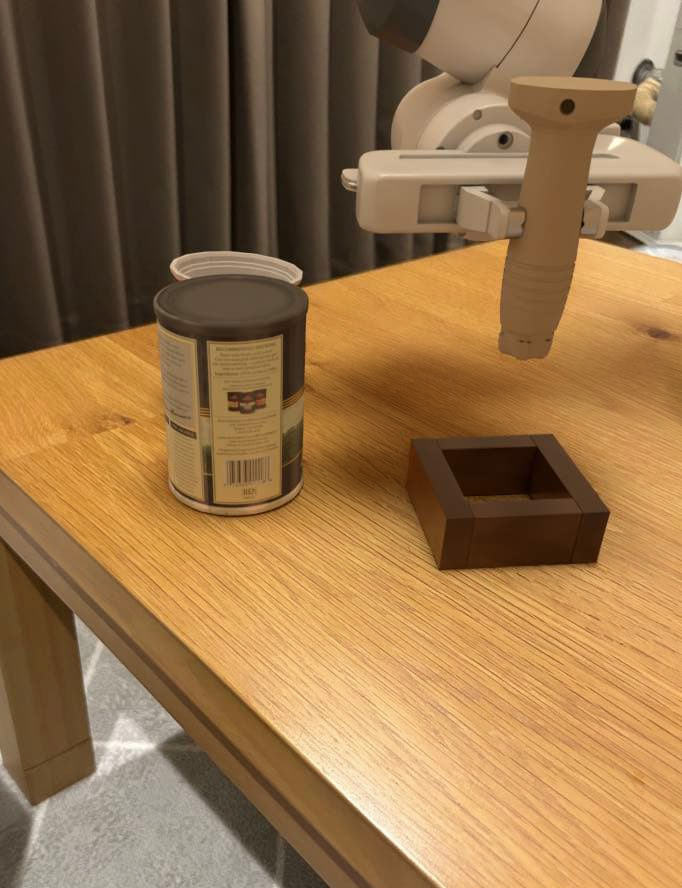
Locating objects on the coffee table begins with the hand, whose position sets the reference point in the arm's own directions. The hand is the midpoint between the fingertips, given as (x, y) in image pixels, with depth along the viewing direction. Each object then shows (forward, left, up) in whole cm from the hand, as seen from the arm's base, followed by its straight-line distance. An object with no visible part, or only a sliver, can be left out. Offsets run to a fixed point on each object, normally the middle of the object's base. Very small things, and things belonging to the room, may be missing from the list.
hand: (553, 225), depth 49 cm
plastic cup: (+17, -22, -21) cm, 34 cm away
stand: (0, -1, -20) cm, 21 cm away
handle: (0, -1, -8) cm, 8 cm away
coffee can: (+18, -8, -21) cm, 28 cm away
